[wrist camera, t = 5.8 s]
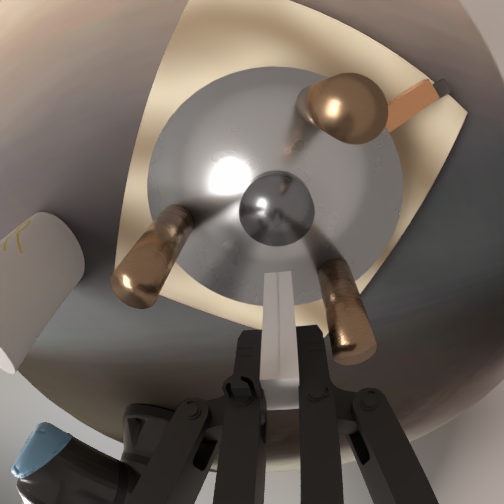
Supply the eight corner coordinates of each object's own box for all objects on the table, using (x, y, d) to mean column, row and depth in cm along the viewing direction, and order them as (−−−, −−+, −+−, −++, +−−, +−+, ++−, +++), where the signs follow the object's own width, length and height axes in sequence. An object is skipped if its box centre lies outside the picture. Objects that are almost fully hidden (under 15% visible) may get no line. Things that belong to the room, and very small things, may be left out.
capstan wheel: (466, 181, 14) (542, 237, 7) (261, 318, 21) (255, 409, 14) (347, -8, 9) (402, -70, 2) (118, 185, 16) (40, 247, 9)
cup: (48, 196, 18) (-51, 276, 8) (99, 268, 22) (27, 372, 12) (18, 235, 21) (-54, 306, 10) (60, 293, 24) (4, 375, 14)
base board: (315, 333, 24) (317, 348, 22) (121, 265, 21) (112, 277, 20) (458, 102, 12) (473, 105, 11) (210, -21, 10) (204, -31, 8)
